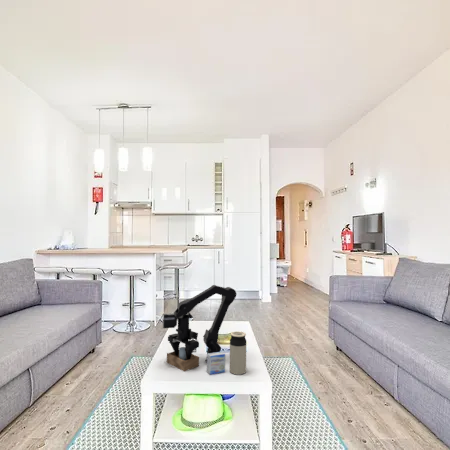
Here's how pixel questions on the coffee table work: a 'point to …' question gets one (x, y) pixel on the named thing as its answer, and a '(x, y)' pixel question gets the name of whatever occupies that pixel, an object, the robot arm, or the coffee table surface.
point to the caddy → (182, 361)
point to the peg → (182, 353)
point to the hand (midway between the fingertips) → (182, 358)
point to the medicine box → (215, 363)
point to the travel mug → (238, 353)
